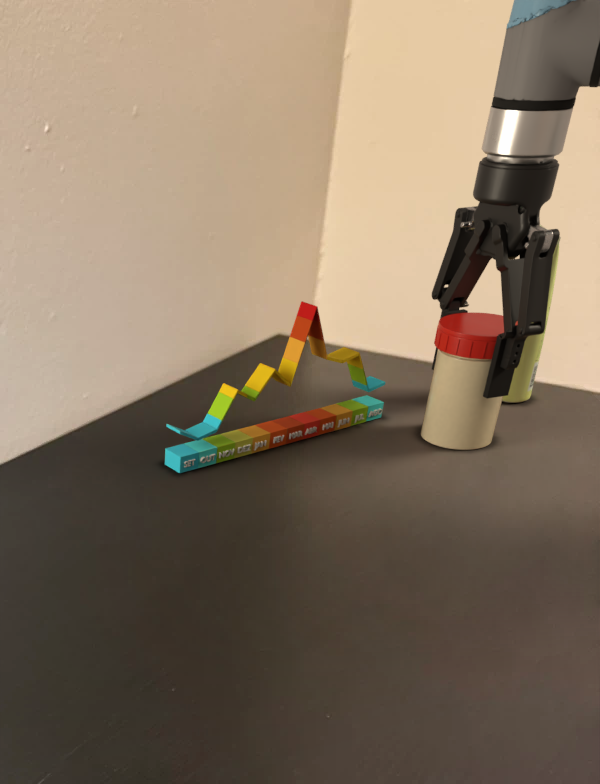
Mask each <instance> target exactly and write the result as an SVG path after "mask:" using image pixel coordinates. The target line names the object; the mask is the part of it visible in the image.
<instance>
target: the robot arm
mask: <svg viewBox="0 0 600 784" xmlns="http://www.w3.org/2000/svg"><path fill="white" fill-rule="evenodd" d="M505 29H506V30H505V35H504V39H503V46H502V50H501V56H500V60H499V65H498V71H497V76H496V81H495V86H494V91H493V97H492V100H491V106H490V109H489V113H488V118H487V121H486V126H485V131H484V135H483V140H482V144H481V150H482V152H483V153H484V154H486V156H484V157H482V159H481V160H480V161H479V163H478V167H477V172H476V176H475V181H474V185H473V186H474V187H473V191H472V197H473V199H475V200H476V201H477V202H478V204H477V205H475V206H474V205H473V206H466V207H458V208H457V209H456V210H455V212H454V220H453V226H452V227H453V229H452V232H451V234H450V235H451V236H450V238H449V241H448V244H447V247H446V250H445V253H444V256H443V259H442V262H441V265H440V267H439V270H438V273H437V276H436V278H435V281H434V285H433V288H432V290H431V298H432V300H434V301H436V300H437V302H439V308H440V310H441V312H440V317H439V320H440V319H441V318H442V317H444V316H447V315H451V314H457V313H469V310H467V309H464V308H468V307H469V306H470V304H469V302H468V301H467V300H468V298H469V297H470V295H471V294H472V292H473V290H474V289H475V287H476V285H477V284H478V282H479V280H480V278H481V276H482V274H483V273H484V271H485V269H486V268H487V266H488V264H489V263H490V261H491V260H492V259H493V260H495V268H496V270H497V271H498V272H499V273H500V285H501V302H502V303H501V304H502V316H503V321H504V333H501V334H498V336H497V339H496V344H495V348H494V352H493V356H492V360H491V364H490V368H489V373H488V377H487V381H486V385H485V389H484V393H483V397H485V398H487V399H488V398H494V397H501V396H508V394H509V390H510V386H511V382H512V378H513V374H514V370H515V368H517V367H518V365H519V363H520V358H521V354H522V351H523V347H524V343H525V340H526V338H527V337H528V336H532V335H539V334H542V333H543V332H544V330H545V323H546V314H547V305H548V296H549V287H550V278H551V269H552V260H553V254H554V251H555V248H556V245H557V242H558V240H559V236H560V237H561V232H560V230H559V228H549V229H548V228H546V227H545V228H546V229H545V228H543V227H544V226H543V227H541V226H540V225H541V220H540V218H541V217H540V213H541V209H542V207H543V205H545V204H546V203H547V202H548V201H550V200H551V198H552V196H553V192H554V188H555V184H556V181H557V176H558V172H559V168H560V163H559V160H558V159H555V157H556V156H558V155H560V154H561V153H563V151H564V147H565V142H566V138H567V134H568V130H569V126H570V123H571V118H572V114H573V110H574V107H575V104H576V100H577V95H578V92H579V89H580V88H581V87H583V88H584V87H585V88H586V87H588V88H598V87H600V0H513V2H512V7H511V10H510V15H509V19H508V22H507V23H506V28H505ZM547 229H548V230H547ZM517 321H518V325H515V324H516V322H517ZM532 322H534V323H532ZM437 352H438V348H437V347H436V346H435V351H434V356H433V361H432V366H431V371H434V366H435V361H436V356H437Z"/></svg>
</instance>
